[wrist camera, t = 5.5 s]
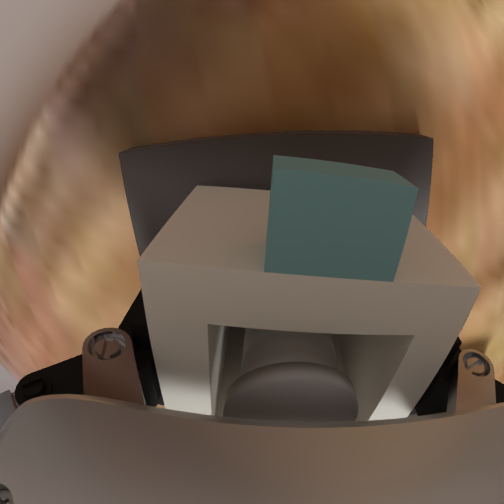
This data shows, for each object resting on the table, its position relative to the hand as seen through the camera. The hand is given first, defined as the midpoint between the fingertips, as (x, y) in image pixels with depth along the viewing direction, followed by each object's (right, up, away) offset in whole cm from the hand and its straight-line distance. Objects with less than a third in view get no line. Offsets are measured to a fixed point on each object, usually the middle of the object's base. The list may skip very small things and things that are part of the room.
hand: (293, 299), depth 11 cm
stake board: (0, +1, +2) cm, 2 cm away
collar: (0, 0, +1) cm, 1 cm away
